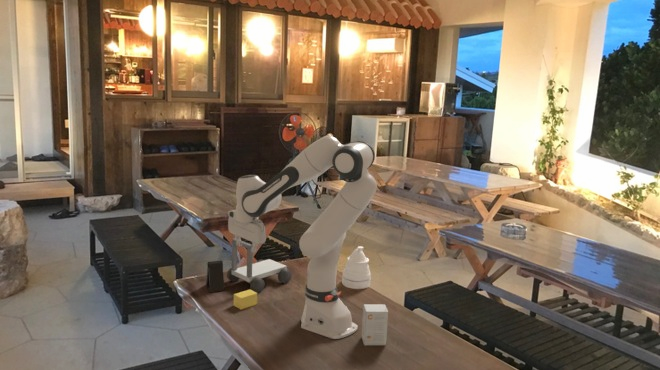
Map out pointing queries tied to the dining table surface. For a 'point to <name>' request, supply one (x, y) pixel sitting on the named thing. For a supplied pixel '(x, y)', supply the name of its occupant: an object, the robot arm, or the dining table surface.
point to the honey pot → (356, 270)
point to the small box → (374, 324)
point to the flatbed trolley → (256, 269)
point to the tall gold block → (245, 299)
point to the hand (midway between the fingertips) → (246, 248)
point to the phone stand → (215, 276)
